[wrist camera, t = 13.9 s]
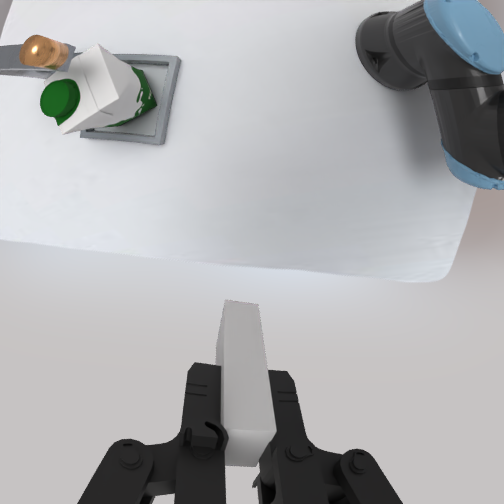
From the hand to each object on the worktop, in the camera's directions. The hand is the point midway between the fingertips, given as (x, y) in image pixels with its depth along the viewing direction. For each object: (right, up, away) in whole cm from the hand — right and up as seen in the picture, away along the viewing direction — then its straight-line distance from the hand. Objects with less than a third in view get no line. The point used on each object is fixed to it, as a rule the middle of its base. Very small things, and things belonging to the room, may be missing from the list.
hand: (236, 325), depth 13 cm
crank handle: (-22, +22, +3) cm, 31 cm away
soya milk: (-19, +28, +26) cm, 43 cm away
